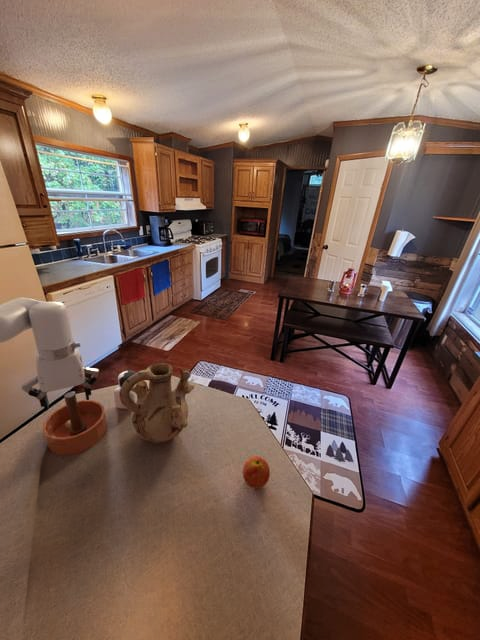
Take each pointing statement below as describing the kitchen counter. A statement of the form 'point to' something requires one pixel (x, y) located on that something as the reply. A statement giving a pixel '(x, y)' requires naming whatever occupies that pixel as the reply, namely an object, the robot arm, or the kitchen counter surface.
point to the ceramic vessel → (157, 402)
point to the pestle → (74, 415)
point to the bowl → (67, 444)
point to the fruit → (256, 472)
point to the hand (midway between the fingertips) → (68, 402)
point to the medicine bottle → (121, 380)
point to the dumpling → (68, 424)
